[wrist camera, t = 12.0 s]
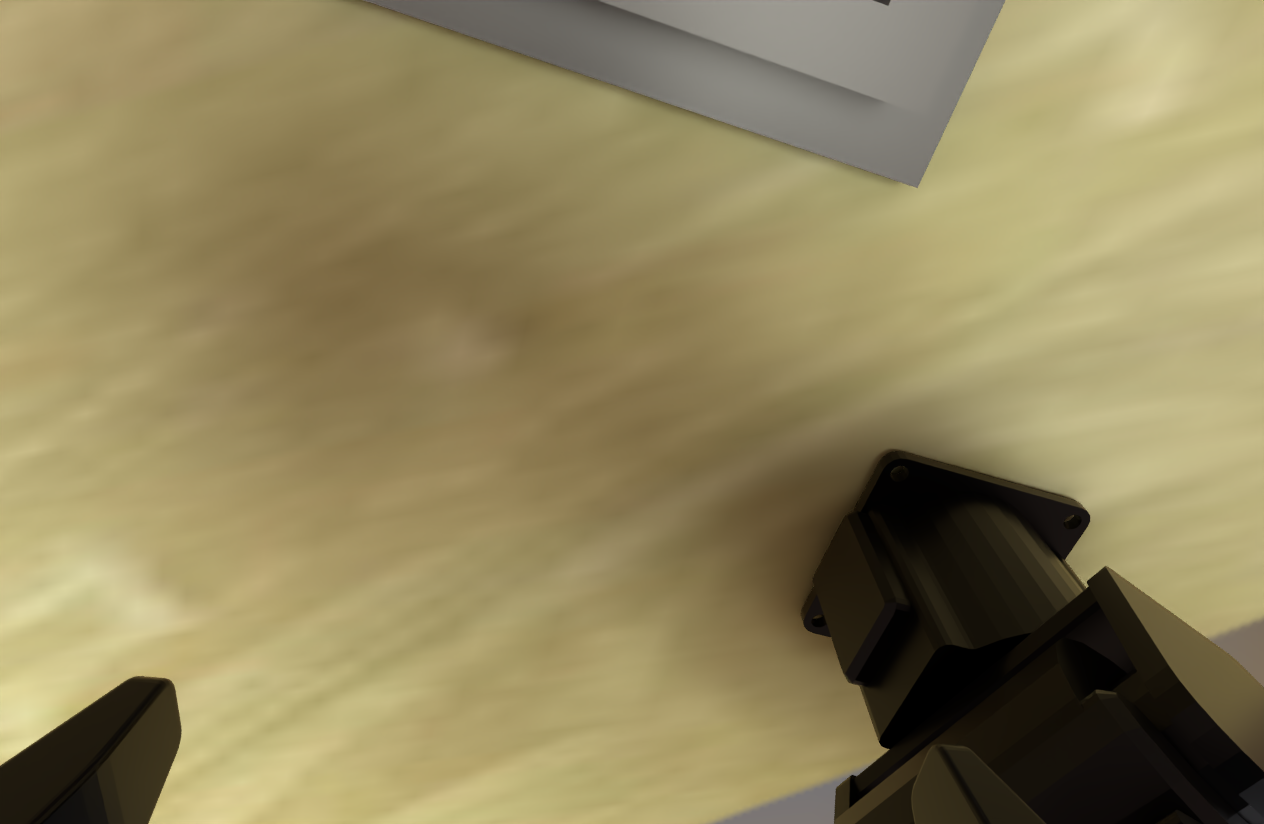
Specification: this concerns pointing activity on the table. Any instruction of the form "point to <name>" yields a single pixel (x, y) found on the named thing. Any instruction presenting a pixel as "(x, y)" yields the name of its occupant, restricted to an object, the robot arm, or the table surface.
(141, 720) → the robot arm
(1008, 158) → the table surface
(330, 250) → the table surface
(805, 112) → the gray square tray
